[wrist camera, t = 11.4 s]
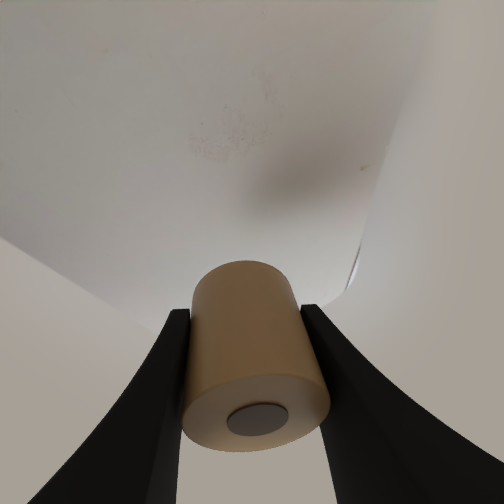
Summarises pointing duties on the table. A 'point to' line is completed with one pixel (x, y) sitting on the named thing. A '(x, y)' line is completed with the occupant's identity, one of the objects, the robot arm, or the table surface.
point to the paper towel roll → (249, 363)
